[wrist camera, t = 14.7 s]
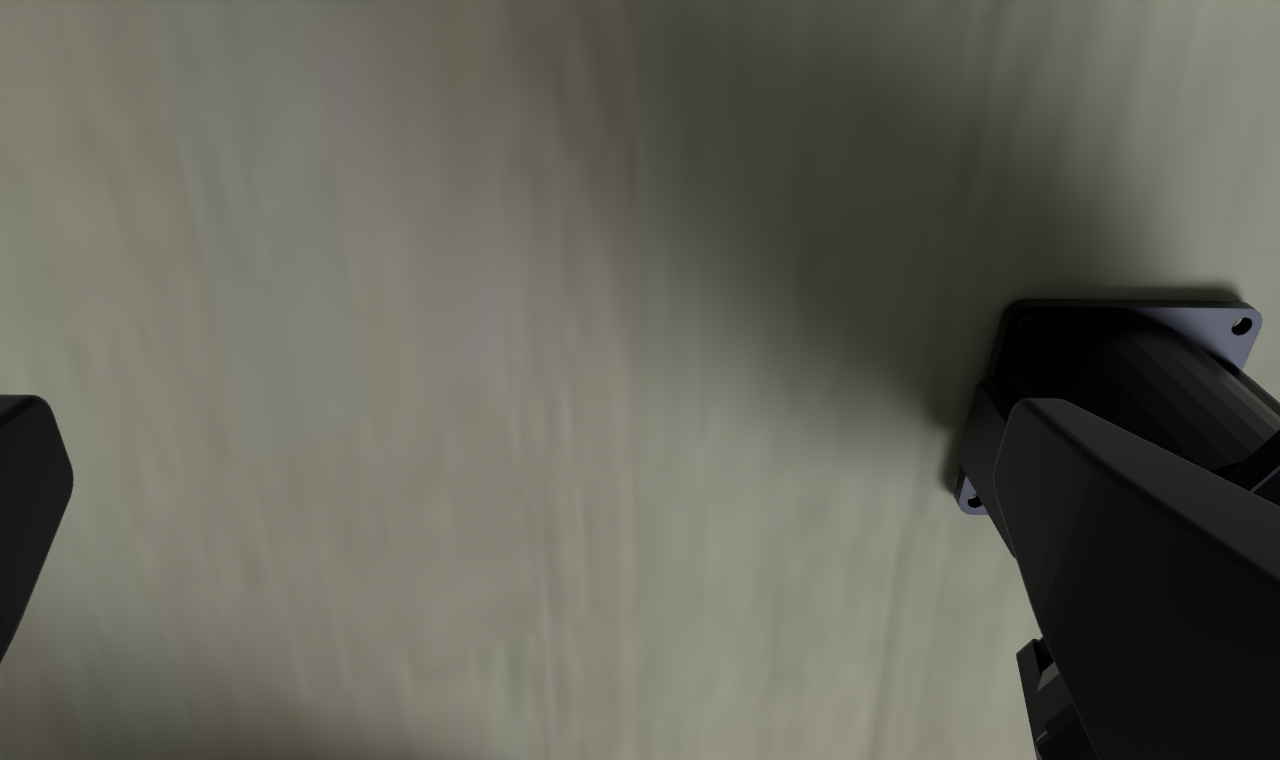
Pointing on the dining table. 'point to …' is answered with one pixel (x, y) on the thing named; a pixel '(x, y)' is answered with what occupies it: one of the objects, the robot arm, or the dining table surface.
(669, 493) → the dining table surface
